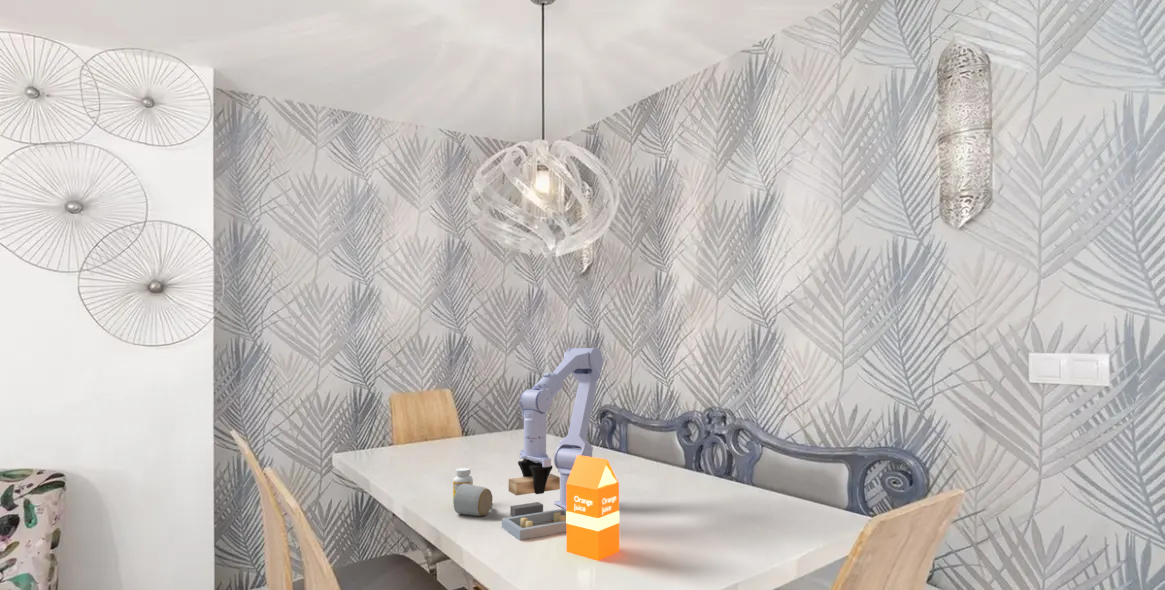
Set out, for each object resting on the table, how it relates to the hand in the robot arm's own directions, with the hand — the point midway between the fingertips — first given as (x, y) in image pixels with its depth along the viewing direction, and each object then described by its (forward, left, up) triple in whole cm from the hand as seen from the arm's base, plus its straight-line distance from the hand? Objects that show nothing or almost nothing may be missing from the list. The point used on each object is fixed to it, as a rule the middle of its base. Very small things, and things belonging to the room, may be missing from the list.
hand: (534, 491), depth 150 cm
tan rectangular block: (0, 0, 0) cm, 0 cm away
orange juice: (-2, +26, -8) cm, 27 cm away
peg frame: (0, +6, -7) cm, 10 cm away
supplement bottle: (+10, -25, -8) cm, 28 cm away
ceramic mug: (+10, -15, -8) cm, 20 cm away
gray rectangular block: (-1, -6, -7) cm, 9 cm away
